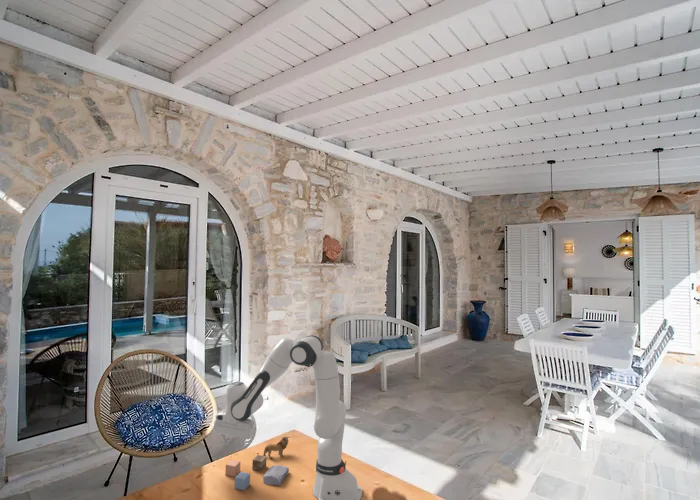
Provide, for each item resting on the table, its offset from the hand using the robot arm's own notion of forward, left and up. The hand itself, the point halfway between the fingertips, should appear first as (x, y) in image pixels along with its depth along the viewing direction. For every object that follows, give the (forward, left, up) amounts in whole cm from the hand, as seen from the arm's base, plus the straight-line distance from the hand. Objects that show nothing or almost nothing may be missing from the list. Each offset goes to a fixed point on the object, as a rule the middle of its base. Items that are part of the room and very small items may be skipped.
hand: (233, 444), depth 192 cm
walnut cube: (-10, -8, -14) cm, 19 cm away
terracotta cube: (0, 0, -14) cm, 14 cm away
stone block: (-22, -3, -15) cm, 26 cm away
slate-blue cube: (-10, +8, -14) cm, 19 cm away
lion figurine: (-13, -22, -14) cm, 29 cm away
